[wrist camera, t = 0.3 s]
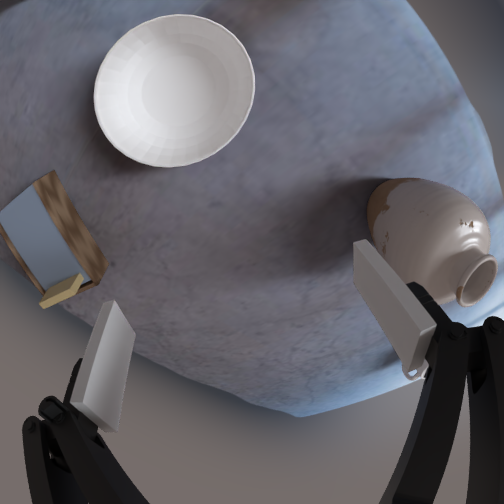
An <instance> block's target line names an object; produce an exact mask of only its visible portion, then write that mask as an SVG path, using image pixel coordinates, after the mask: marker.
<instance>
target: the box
mask: <svg viewBox="0 0 504 504" xmlns="http://www.w3.org/2000/svg"><path fill="white" fill-rule="evenodd" d="M33 186H34V188H35V190H36V192H37V193H38V195H39V197H40V199H41V201H42V203H43V205H44V206H45V208H46V210H47V212H48V213H49V215H50V217H51V219H52V220H53V222H54V224H55V225H56V227H57V229H58V230H59V232H60V233H61V235H62V237H63V238H64V240H65V241H66V243H67V245H68V246H69V248H70V249H71V251H72V252H73V254H74V255H75V257H76V258H77V260H78V261H79V263H80V264H81V266H82V267H83V269H84V270H85V271H86V273H87V274H88V276H89V277H90V279H91V280H90V281H88V282H86V283H84V284H82V285H80V287H79V289H78V291H77V292H76V294H78V293H81V292H83V291H85V290H87V289H90V288H92V287H94V286H97V285H99V283H100V281H101V279H102V277H103V275H104V273H105V271H106V269H107V267H108V265H109V263H108V261H107V260H106V258H105V257H104V255H103V254H102V252H101V250H100V249H99V247H98V246H97V244H96V243H95V241H94V239H93V238H92V236H91V235H90V233H89V231H88V230H87V228H86V226H85V225H84V223H83V221H82V220H81V218H80V216H79V215H78V213H77V211H76V209H75V208H74V206H73V204H72V202H71V200H70V199H69V197H68V195H67V193H66V191H65V189H64V188H63V186H62V184H61V182H60V180H59V178H58V176H57V174H56V172H55V170H53V171H52V172H50V173H48V174H47V175H45V176H43V177H42V178H40V179H39V180H37V181H35V182H34V183H33ZM0 233H1V235H2V236H3V238H4V240H5V241H6V243H7V245H8V246H9V248H10V249H11V251H12V253H13V254H14V256H15V257H16V259H17V260H18V262H19V263H20V265H21V266H22V268H23V269H24V271H25V272H26V273H27V275H28V276H29V278H30V279H31V281H32V282H33V283H34V285H35V286H36V287H37V289H38V290H39V291H40V293H41V294H42V295H43V296H44V295H45V293H46V291H45V290H44V289H43V287H42V286H41V284H40V283H39V282H38V280H37V279H36V278H35V276H34V275H33V273H32V272H31V271H30V269H29V268H28V266H27V265H26V263H25V262H24V260H23V259H22V257H21V256H20V254H19V253H18V251H17V249H16V248H15V246H14V245H13V243H12V241H11V240H10V238H9V237H8V235H7V233H6V231H5V230H4V228H3V226H2V225H1V223H0ZM76 294H75V295H76ZM71 297H72V296H71ZM69 298H70V297H69ZM62 301H63V300H62ZM60 302H61V301H60Z"/></svg>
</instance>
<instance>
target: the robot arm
mask: <svg viewBox="0 0 504 504" xmlns="http://www.w3.org/2000/svg"><path fill="white" fill-rule="evenodd" d="M353 260H354V285H355V286H356V288H357V289H358V291H359V293H360V294H361V296H362V297H363V299H364V300H365V302H366V304H367V305H368V307H369V308H370V310H371V312H372V313H373V315H374V316H375V318H376V320H377V321H378V323H379V325H380V326H381V328H382V330H383V331H384V333H385V335H386V336H387V338H388V340H389V341H390V343H391V345H392V346H393V348H394V350H395V352H396V353H397V355H398V357H399V358H400V360H401V362H402V364H403V366H404V367H405V369H406V371H407V373H408V372H410V371H413V370H415V369H417V368H419V367H421V366H422V365H423V362H424V360H425V359H426V361H427V362H428V364H429V366H428V368H427V370H426V373H425V375H424V377H423V378H425V381H424V385H423V389H422V392H421V396H420V400H419V403H418V406H417V410H416V413H415V416H414V420H413V423H412V426H411V429H410V432H409V434H408V437H407V440H406V443H405V445H404V448H403V451H402V453H401V456H400V458H399V461H398V463H397V466H396V468H395V471H394V473H393V475H392V477H391V479H390V482H389V484H388V486H387V488H386V490H385V492H384V494H383V496H382V498H381V500H380V502H379V504H433V501H434V499H435V496H436V494H437V491H438V488H439V486H440V483H441V480H442V477H443V474H444V471H445V468H446V465H447V462H448V459H449V455H450V452H451V449H452V445H453V441H454V437H455V433H456V429H457V425H458V420H459V415H460V411H461V405H462V400H463V394H464V388H465V380H466V375H467V383H468V395H469V409H470V467H469V481H468V491H467V499H466V504H504V321H503V320H502V319H501V318H499V317H495V316H491V317H488V318H487V319H485V321H484V323H483V326H478V327H471V328H467V327H466V326H464V325H463V324H461V323H458V322H452V321H451V320H450V318H449V317H448V316H447V315H446V313H445V312H444V311H443V310H442V308H441V307H440V306H439V305H438V304H437V302H436V301H434V299H433V298H432V296H431V295H429V293H428V292H427V290H426V289H425V288H424V287H423V286H421V285H420V284H418V283H416V282H414V281H413V282H411V283H408V284H405V283H404V282H403V281H402V280H401V279H400V277H399V276H398V275H397V274H396V273H395V271H394V270H393V269H392V268H391V267H390V266H389V264H388V263H387V262H386V261H385V260H384V259H383V257H382V256H381V255H380V254H379V253H378V252H377V251H376V250H375V248H374V247H373V246H372V245H371V244H370V243H369V242H368V241H367V240H366V239H364V240H360V241H356V242H353ZM135 335H136V334H135V332H134V331H133V329H132V328H131V326H130V324H129V323H128V321H127V320H126V318H125V316H124V315H123V313H122V311H121V310H120V308H119V306H118V305H117V303H116V301H115V300H112V301H108V302H104V303H103V305H102V308H101V310H100V313H99V315H98V318H97V321H96V323H95V326H94V329H93V331H92V334H91V337H90V340H89V342H88V345H87V348H86V351H85V354H84V357H83V358H80V359H79V360H78V362H77V363H76V364H75V366H74V368H73V371H72V374H71V375H72V376H71V378H70V383H69V384H68V387H67V390H66V394H65V397H64V401H63V403H62V402H61V401H59V400H58V399H57V398H56V397H55V396H48V397H46V398H44V400H42V402H41V403H40V405H39V410H38V412H39V415H40V416H41V417H42V418H44V419H45V420H42V421H41V420H39V419H38V418H37V417H35V416H30V417H28V418H27V419H26V420H25V421H24V424H23V428H22V434H23V446H24V456H25V464H26V471H27V477H28V483H29V489H30V494H31V498H32V503H33V504H88V503H89V504H149V502H148V501H147V500H146V499H145V498H144V496H143V495H142V494H141V493H140V491H139V490H138V489H137V488H136V486H135V485H134V484H133V483H132V481H131V480H130V478H129V477H128V476H127V474H126V473H125V472H124V470H123V469H122V467H121V466H120V464H119V463H118V462H117V460H116V459H115V457H114V456H113V454H112V453H111V451H110V450H109V448H108V446H107V445H106V444H105V442H104V440H103V438H102V437H101V435H100V434H99V433H97V430H98V427H99V428H101V429H102V430H103V431H104V432H118V427H119V421H120V413H121V408H122V401H123V395H124V390H125V384H126V379H127V373H128V368H129V363H130V358H131V353H132V349H133V344H134V340H135ZM49 453H50V454H51V458H50V454H49Z"/></svg>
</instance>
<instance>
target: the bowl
mask: <svg viewBox="0 0 504 504" xmlns="http://www.w3.org/2000/svg"><path fill="white" fill-rule="evenodd" d="M254 93H255V75H254V71H253V67H252V63H251V59H250V58H249V56H248V54H247V52H246V50H245V48H244V46H243V45H242V44H241V42H240V41H239V40H238V39H237V38H236V36H235V35H234V34H232V33H231V32H230V31H228V30H227V29H226V28H225V27H223V26H222V25H220V24H218V23H216V22H214V21H212V20H209V19H207V18H203V17H199V16H194V15H181V14H175V15H168V16H162V17H158V18H155V19H152V20H149V21H146V22H144V23H142V24H140V25H138V26H137V27H135V28H133V29H131V30H130V31H129V32H127V33H126V34H125V35H124V36H123V37H121V38H120V39H119V40H118V41H117V42H116V43H115V45H114V46H113V47H112V48H111V49H110V51H109V52H108V53H107V55H106V57H105V58H104V60H103V62H102V64H101V66H100V68H99V71H98V74H97V77H96V81H95V88H94V107H95V113H96V116H97V119H98V123H99V125H100V127H101V129H102V131H103V132H104V134H105V136H106V137H107V139H108V140H109V141H110V142H111V143H112V144H113V146H114V147H115V148H117V149H118V150H119V151H120V152H122V153H123V154H124V155H126V156H127V157H129V158H131V159H133V160H135V161H138V162H140V163H143V164H147V165H151V166H157V167H177V166H185V165H189V164H192V163H195V162H199V161H201V160H203V159H205V158H207V157H209V156H211V155H213V154H215V153H216V152H218V151H219V150H220V149H222V148H223V147H224V146H226V145H227V144H228V143H229V142H230V141H231V140H232V139H233V138H234V137H235V135H236V134H237V133H238V132H239V130H240V129H241V127H242V126H243V124H244V123H245V121H246V120H247V117H248V114H249V112H250V109H251V107H252V104H253V98H254Z"/></svg>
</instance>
